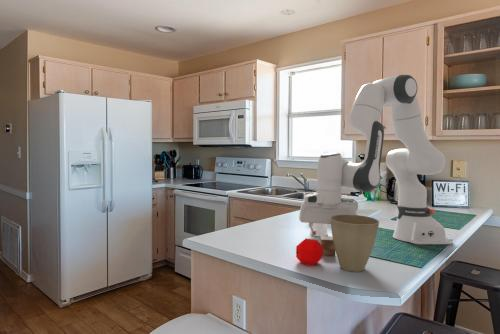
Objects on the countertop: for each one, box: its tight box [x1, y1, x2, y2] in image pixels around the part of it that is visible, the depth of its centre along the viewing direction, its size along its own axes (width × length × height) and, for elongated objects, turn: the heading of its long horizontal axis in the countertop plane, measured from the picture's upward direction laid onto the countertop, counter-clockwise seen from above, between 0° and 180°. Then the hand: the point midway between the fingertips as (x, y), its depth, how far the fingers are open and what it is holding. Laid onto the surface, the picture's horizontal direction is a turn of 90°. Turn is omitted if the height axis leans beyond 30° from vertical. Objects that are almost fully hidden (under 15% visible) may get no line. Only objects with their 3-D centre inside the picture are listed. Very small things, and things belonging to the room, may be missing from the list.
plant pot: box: [330, 214, 380, 273], centre depth 111 cm, size 15×15×16 cm
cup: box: [309, 223, 329, 237], centre depth 154 cm, size 11×11×15 cm
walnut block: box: [319, 235, 336, 258], centre depth 126 cm, size 5×5×6 cm
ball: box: [295, 238, 324, 266], centre depth 116 cm, size 8×8×8 cm
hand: (326, 235), depth 125 cm, fingers open, 8 cm apart
